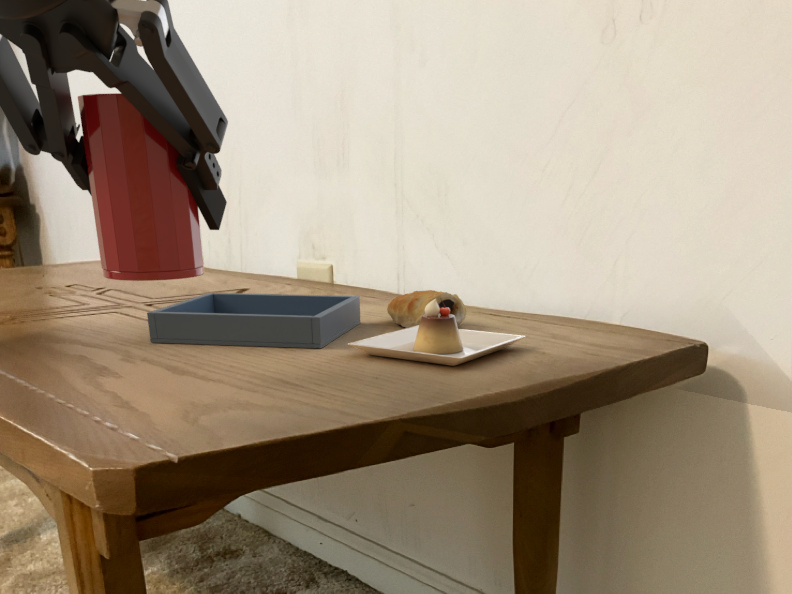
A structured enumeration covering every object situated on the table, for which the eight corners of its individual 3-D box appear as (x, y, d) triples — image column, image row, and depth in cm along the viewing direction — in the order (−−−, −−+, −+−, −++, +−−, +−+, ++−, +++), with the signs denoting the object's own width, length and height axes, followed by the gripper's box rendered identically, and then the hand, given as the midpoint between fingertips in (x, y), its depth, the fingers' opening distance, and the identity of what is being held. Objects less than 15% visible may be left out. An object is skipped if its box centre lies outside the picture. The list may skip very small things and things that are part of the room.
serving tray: (150, 342, 84) (146, 312, 83) (211, 318, 97) (209, 292, 96) (321, 348, 80) (319, 317, 79) (360, 323, 93) (359, 296, 92)
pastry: (372, 321, 94) (371, 286, 92) (420, 316, 98) (420, 281, 96) (423, 333, 87) (424, 295, 86) (473, 327, 91) (474, 290, 89)
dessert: (525, 347, 80) (528, 295, 78) (460, 371, 71) (461, 312, 69) (419, 335, 86) (419, 286, 84) (346, 356, 77) (344, 301, 75)
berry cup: (84, 279, 62) (56, 94, 57) (134, 268, 69) (113, 101, 64) (178, 281, 61) (157, 92, 56) (219, 270, 67) (205, 100, 62)
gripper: (-194, -36, 46) (38, 252, 67) (153, -56, 42) (284, 257, 63) (-142, -127, 48) (65, 177, 69) (189, -154, 44) (303, 178, 65)
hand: (169, 215), depth 66 cm, fingers closed on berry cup, 7 cm apart
